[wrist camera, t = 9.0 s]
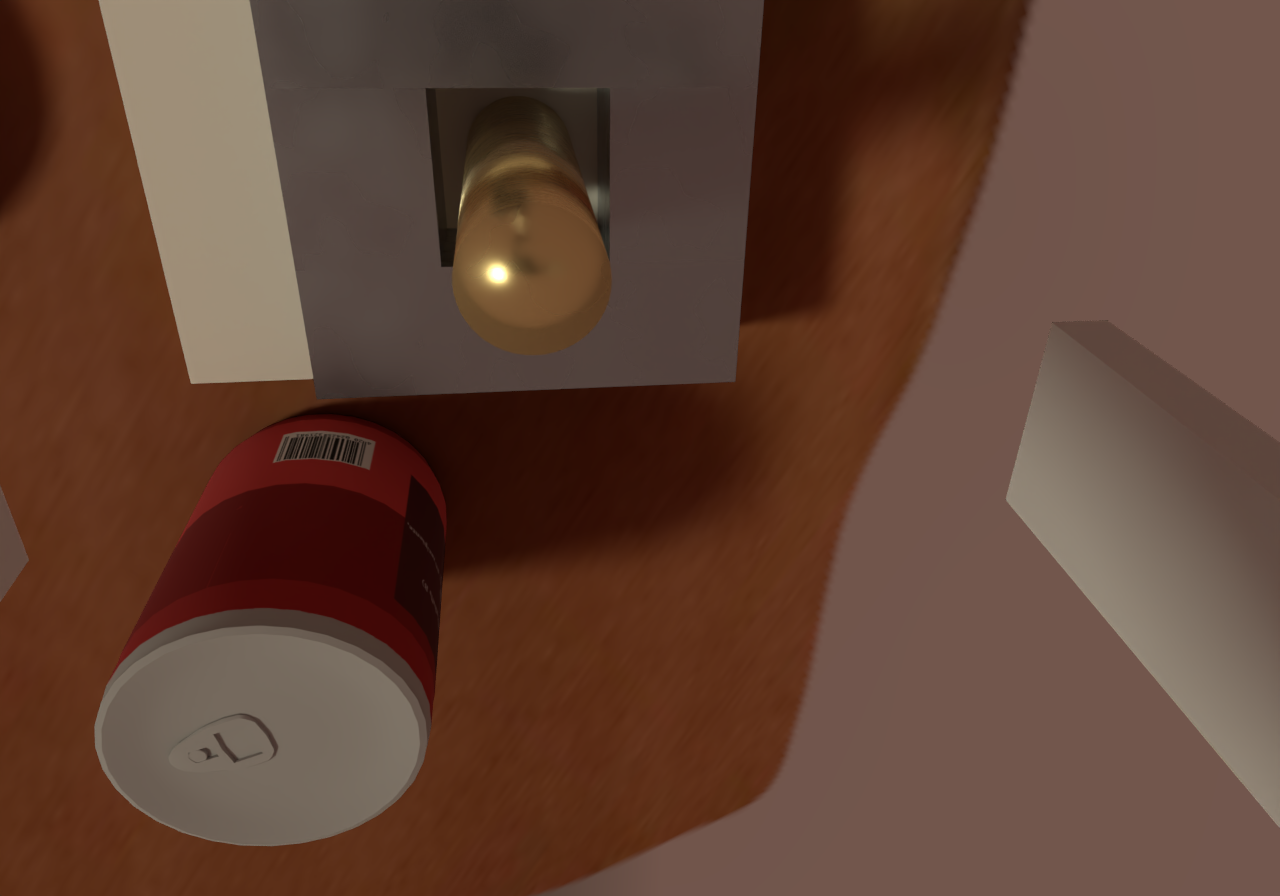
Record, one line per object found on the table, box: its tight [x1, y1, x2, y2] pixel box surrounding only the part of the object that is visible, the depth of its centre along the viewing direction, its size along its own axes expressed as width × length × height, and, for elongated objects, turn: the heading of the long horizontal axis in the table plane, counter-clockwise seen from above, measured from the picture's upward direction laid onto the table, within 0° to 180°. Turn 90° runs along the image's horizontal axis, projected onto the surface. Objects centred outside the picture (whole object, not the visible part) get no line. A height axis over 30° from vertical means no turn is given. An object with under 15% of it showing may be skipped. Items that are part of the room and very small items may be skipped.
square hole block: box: [249, 0, 764, 399], centre depth 26 cm, size 12×12×4 cm
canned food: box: [95, 414, 447, 846], centre depth 28 cm, size 8×8×11 cm
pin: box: [452, 96, 612, 355], centre depth 23 cm, size 3×3×11 cm
